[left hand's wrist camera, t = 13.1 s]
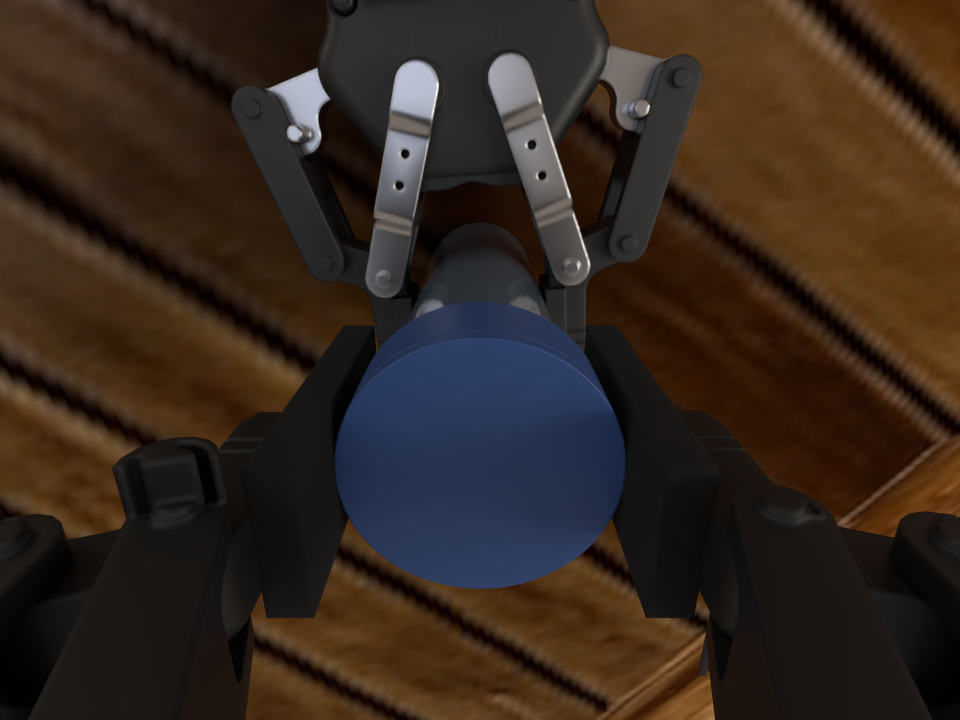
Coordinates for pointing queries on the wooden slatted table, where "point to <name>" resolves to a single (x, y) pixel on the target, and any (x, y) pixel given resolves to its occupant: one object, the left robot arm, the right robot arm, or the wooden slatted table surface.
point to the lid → (480, 448)
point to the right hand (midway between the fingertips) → (485, 381)
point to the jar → (479, 272)
